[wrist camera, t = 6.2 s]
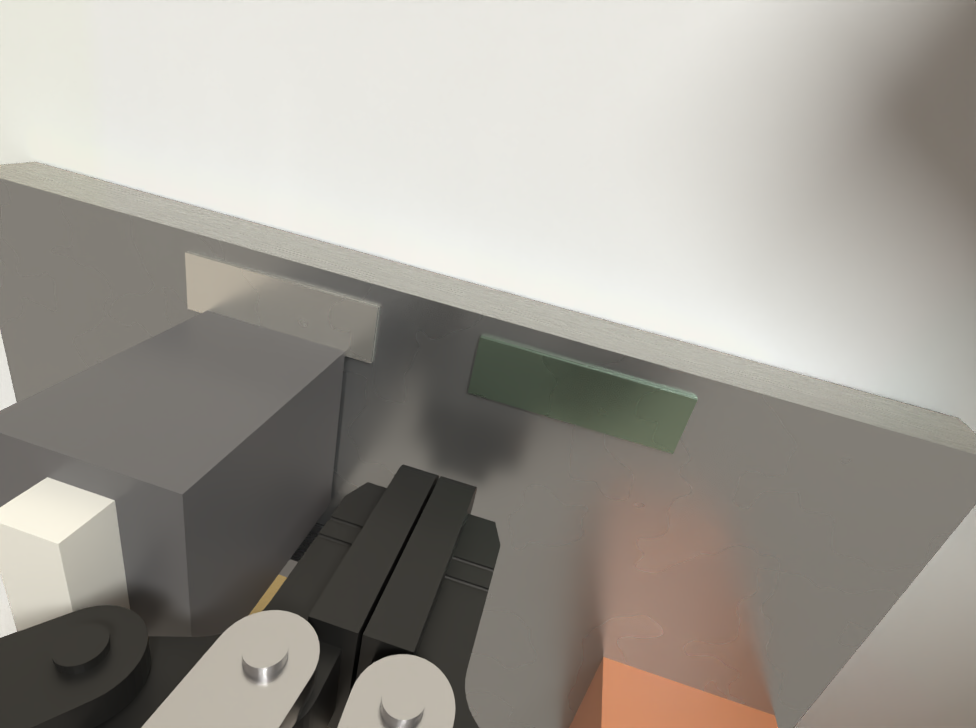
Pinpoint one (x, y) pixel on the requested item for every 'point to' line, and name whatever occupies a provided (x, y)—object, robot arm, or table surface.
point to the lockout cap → (658, 703)
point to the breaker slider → (169, 476)
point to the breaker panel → (535, 447)
